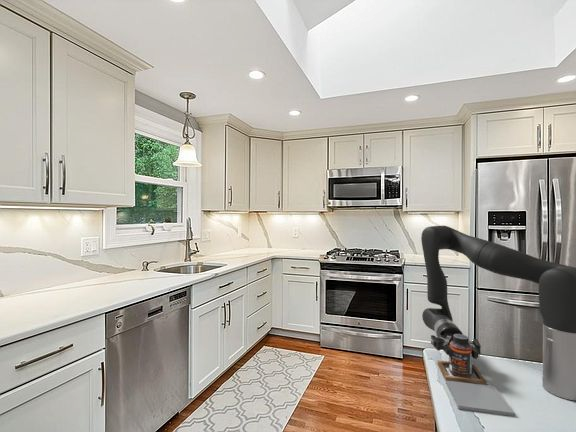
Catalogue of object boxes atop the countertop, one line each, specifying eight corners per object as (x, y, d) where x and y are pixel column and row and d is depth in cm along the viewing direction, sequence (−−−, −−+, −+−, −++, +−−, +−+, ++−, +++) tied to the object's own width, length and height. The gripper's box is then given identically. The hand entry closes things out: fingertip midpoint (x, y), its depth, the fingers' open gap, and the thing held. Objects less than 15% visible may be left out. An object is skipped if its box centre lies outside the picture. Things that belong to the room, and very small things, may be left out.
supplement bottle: (449, 376, 93) (449, 337, 93) (449, 367, 98) (449, 331, 98) (472, 381, 90) (472, 341, 90) (471, 371, 95) (471, 334, 95)
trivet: (493, 388, 86) (493, 385, 86) (514, 416, 75) (514, 412, 75) (445, 383, 89) (445, 380, 89) (458, 408, 77) (458, 405, 77)
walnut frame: (473, 368, 98) (473, 364, 98) (486, 385, 88) (486, 381, 88) (437, 364, 101) (437, 360, 101) (445, 381, 90) (445, 376, 90)
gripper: (425, 320, 110) (436, 339, 93) (471, 324, 106) (491, 344, 90) (425, 342, 110) (436, 364, 93) (471, 346, 106) (491, 370, 90)
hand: (463, 354), depth 92 cm, fingers closed on supplement bottle, 6 cm apart
